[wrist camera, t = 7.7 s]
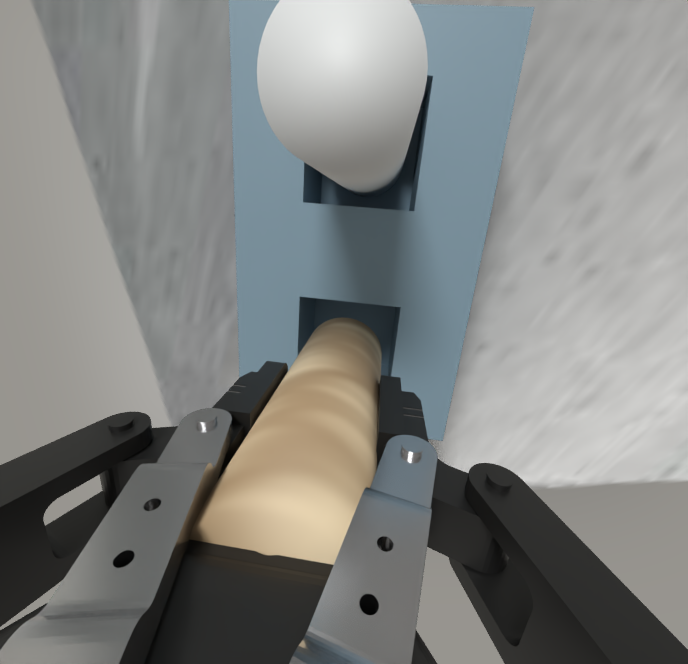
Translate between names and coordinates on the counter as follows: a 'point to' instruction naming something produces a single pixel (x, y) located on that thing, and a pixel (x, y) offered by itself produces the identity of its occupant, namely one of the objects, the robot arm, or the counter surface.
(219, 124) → the counter surface
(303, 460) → the beech pin
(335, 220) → the bore block
